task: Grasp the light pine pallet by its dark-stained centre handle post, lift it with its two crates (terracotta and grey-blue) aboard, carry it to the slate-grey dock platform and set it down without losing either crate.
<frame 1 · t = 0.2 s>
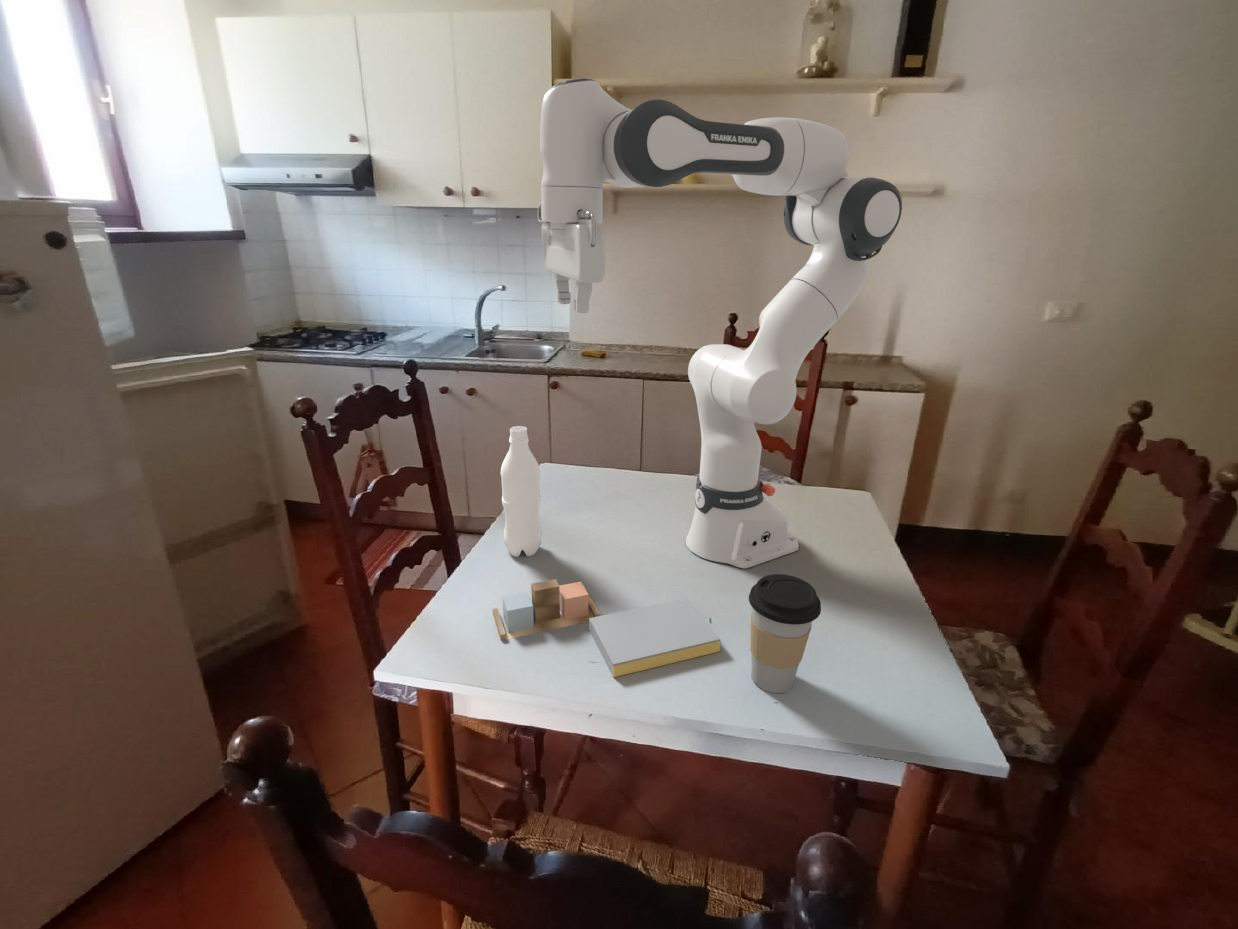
hand: (572, 307, 93), 47 cm above the table, fingers open, 8 cm apart
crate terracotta: (573, 611, 99), resting on pallet
dock: (652, 641, 93), on the table
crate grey: (518, 622, 96), resting on pallet
coffee cup: (772, 680, 86), on the table
pallet: (546, 622, 98), on the table, touching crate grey, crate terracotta
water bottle: (523, 551, 117), on the table
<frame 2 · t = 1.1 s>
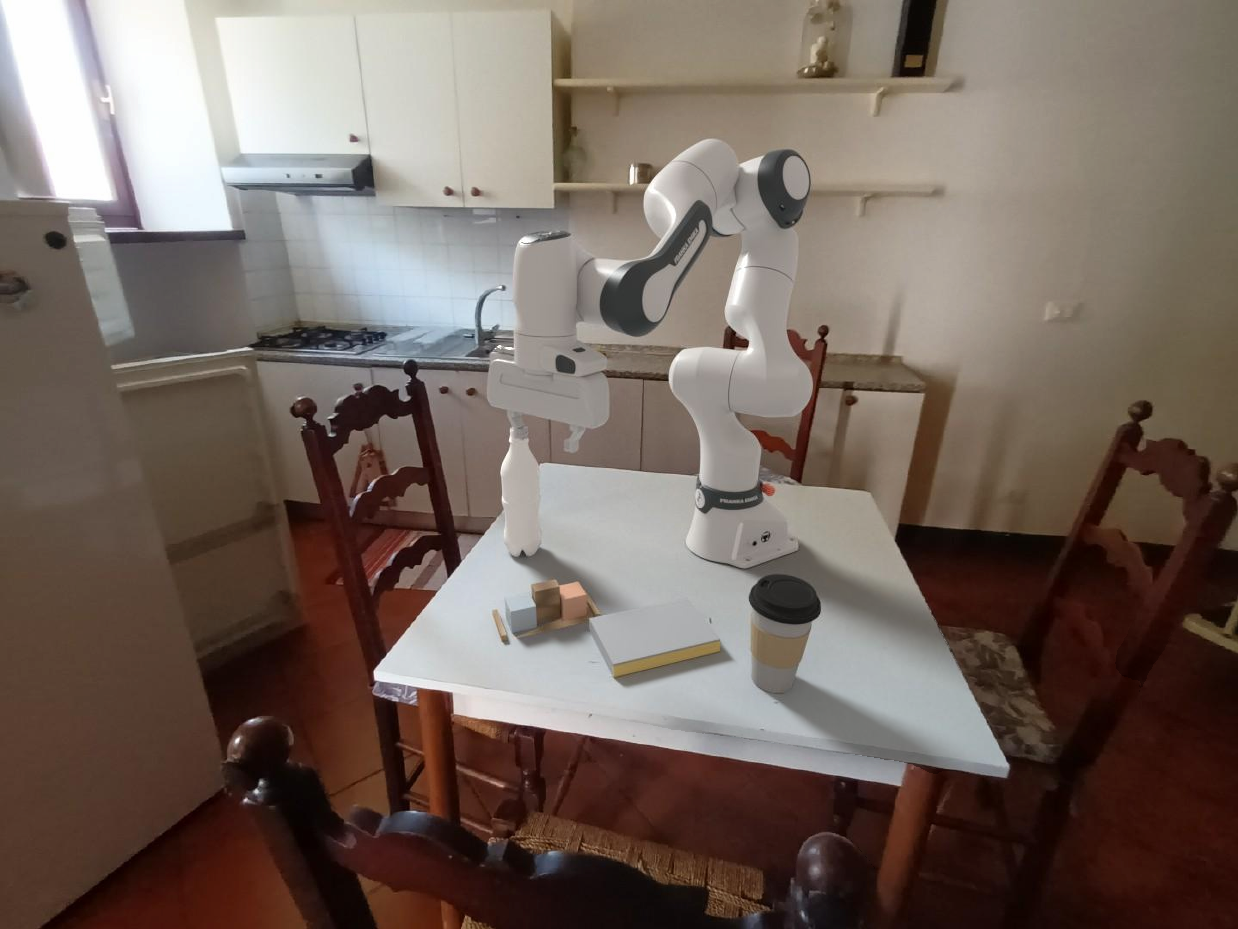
hand: (545, 444, 91), 28 cm above the table, fingers open, 8 cm apart
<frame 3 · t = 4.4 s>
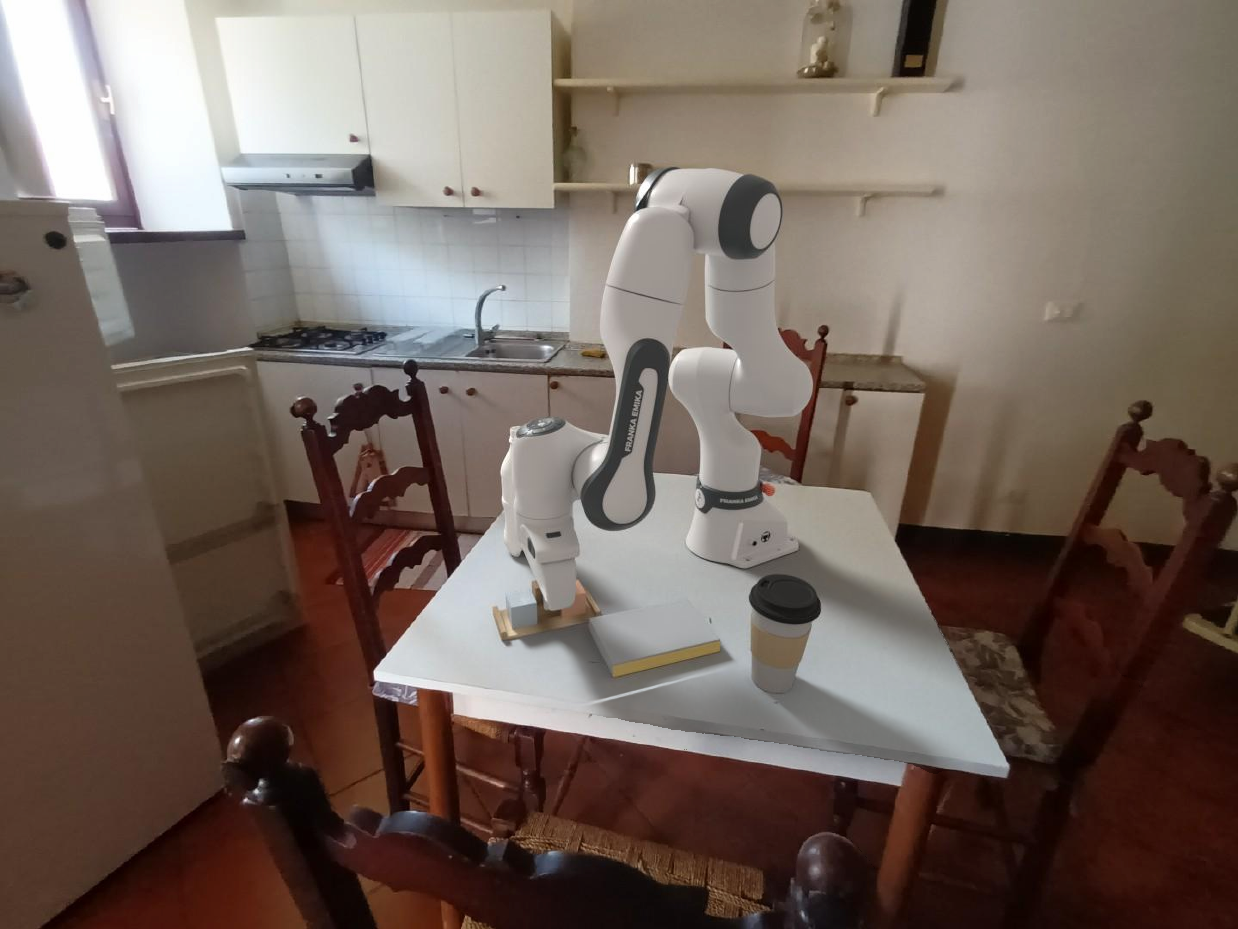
hand: (545, 600, 96), 3 cm above the table, fingers closed on pallet, 2 cm apart
pallet: (546, 620, 98), on the table, touching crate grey, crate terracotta, gripper
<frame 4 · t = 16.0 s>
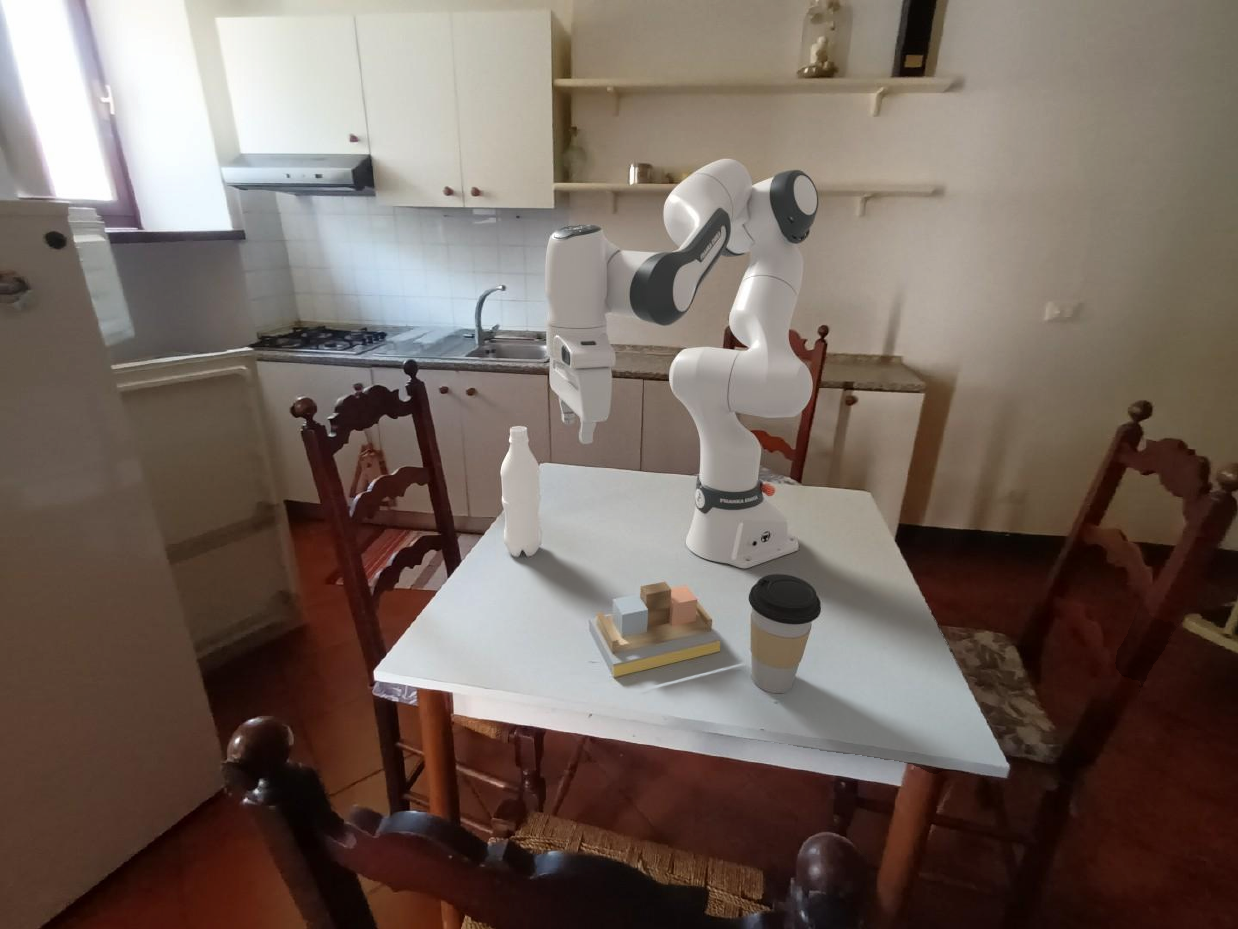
hand: (576, 432, 94), 29 cm above the table, fingers open, 8 cm apart
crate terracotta: (678, 616, 93), point 4 cm above the table, touching pallet
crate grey: (629, 626, 90), point 4 cm above the table, touching pallet
pallet: (653, 628, 92), point 2 cm above the table, touching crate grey, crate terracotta, dock
everything else where it was.
at the end: pallet inside the target area on the dock (0.1 cm from its centre), point 2.5 cm above the dock's base; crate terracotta inside the target area on the pallet (4.0 cm from its centre), point 1.2 cm above the pallet's base; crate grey inside the target area on the pallet (4.0 cm from its centre), point 1.2 cm above the pallet's base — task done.
